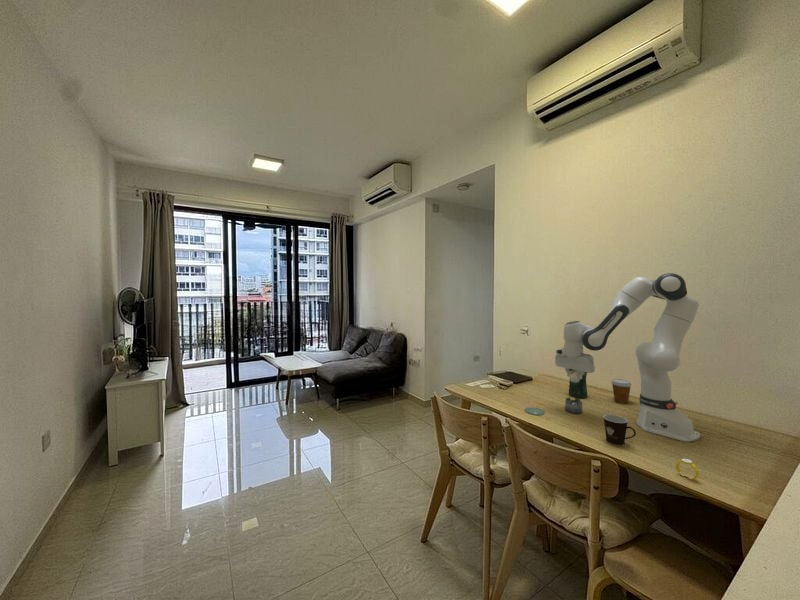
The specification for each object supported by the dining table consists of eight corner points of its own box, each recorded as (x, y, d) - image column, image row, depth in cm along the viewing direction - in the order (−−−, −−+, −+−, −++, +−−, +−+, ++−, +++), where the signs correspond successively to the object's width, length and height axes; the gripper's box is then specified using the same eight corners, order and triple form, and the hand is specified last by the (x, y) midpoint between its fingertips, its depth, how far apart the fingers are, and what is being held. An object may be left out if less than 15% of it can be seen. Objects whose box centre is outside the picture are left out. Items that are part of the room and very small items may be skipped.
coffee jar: (589, 397, 190) (589, 366, 189) (582, 399, 186) (582, 368, 185) (573, 392, 198) (573, 363, 198) (566, 395, 194) (566, 365, 194)
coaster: (548, 412, 168) (548, 412, 168) (535, 416, 163) (535, 415, 163) (533, 406, 177) (533, 406, 177) (520, 410, 172) (520, 409, 172)
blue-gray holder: (585, 412, 167) (585, 400, 167) (575, 415, 164) (575, 403, 163) (571, 407, 174) (571, 396, 174) (562, 410, 171) (561, 399, 171)
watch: (675, 474, 112) (673, 457, 112) (679, 472, 113) (678, 455, 113) (696, 482, 107) (694, 464, 107) (700, 480, 108) (699, 462, 108)
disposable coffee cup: (634, 402, 180) (634, 381, 180) (627, 406, 175) (627, 384, 174) (615, 397, 188) (615, 377, 188) (608, 401, 183) (608, 380, 182)
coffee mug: (599, 437, 140) (599, 414, 140) (618, 436, 140) (618, 414, 139) (616, 450, 128) (616, 426, 128) (637, 450, 128) (637, 426, 128)
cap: (575, 382, 165) (575, 373, 165) (567, 380, 169) (567, 371, 169) (581, 380, 167) (581, 371, 167) (574, 379, 171) (573, 369, 171)
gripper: (597, 354, 160) (597, 381, 160) (560, 348, 178) (561, 372, 179) (589, 355, 157) (590, 383, 157) (552, 349, 175) (553, 374, 176)
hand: (574, 377), depth 168 cm, fingers closed on cap, 4 cm apart
